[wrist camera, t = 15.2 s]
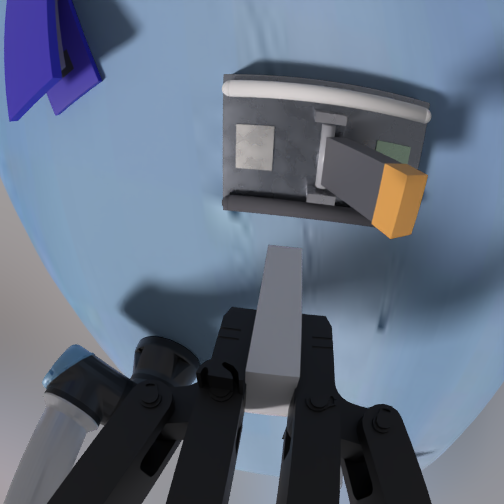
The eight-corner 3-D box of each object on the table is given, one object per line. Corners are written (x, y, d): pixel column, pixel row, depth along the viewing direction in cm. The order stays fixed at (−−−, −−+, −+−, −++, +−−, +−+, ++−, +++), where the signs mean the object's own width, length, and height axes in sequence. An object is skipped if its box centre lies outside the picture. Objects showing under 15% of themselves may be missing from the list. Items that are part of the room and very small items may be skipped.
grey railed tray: (223, 205, 35) (220, 212, 34) (224, 79, 27) (220, 80, 25) (401, 226, 33) (405, 234, 31) (428, 108, 24) (435, 110, 23)
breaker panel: (230, 196, 39) (218, 219, 33) (231, 74, 30) (217, 74, 24) (393, 216, 36) (406, 241, 31) (417, 99, 27) (439, 106, 22)
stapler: (58, 115, 35) (13, 133, 27) (19, -4, 21) (-22, -2, 13) (108, 77, 31) (61, 85, 23) (63, -47, 18) (21, -54, 10)
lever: (307, 184, 31) (387, 247, 21) (314, 123, 27) (409, 164, 17) (327, 183, 32) (408, 242, 22) (335, 124, 28) (430, 165, 18)
